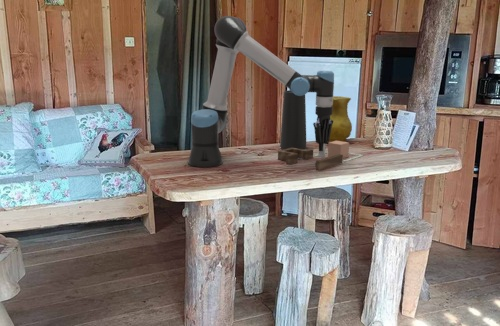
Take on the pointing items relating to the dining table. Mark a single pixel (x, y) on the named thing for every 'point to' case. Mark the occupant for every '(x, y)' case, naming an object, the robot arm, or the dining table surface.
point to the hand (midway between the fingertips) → (321, 157)
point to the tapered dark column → (293, 121)
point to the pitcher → (340, 119)
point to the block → (338, 148)
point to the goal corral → (347, 159)
